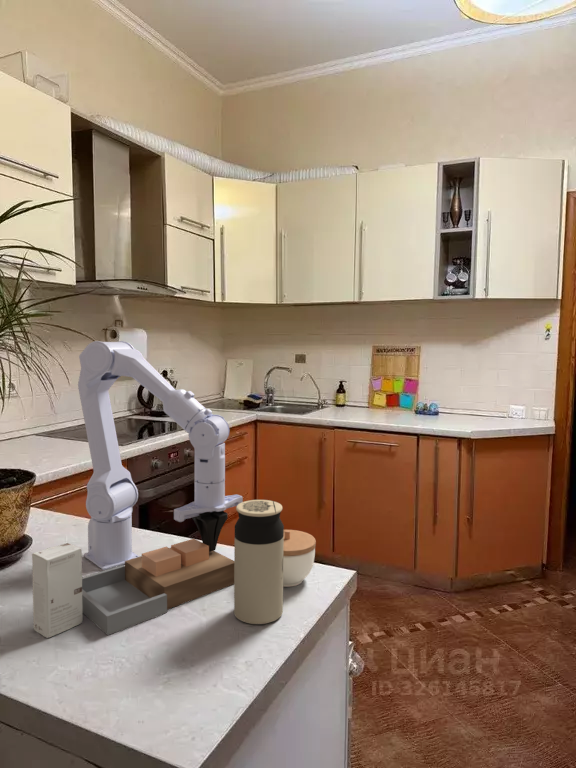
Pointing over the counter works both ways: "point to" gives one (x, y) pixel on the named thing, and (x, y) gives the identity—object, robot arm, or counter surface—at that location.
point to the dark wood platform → (182, 579)
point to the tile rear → (191, 551)
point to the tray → (117, 601)
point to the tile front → (161, 561)
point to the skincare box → (57, 589)
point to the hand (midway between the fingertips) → (209, 549)
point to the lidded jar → (297, 556)
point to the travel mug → (258, 562)
